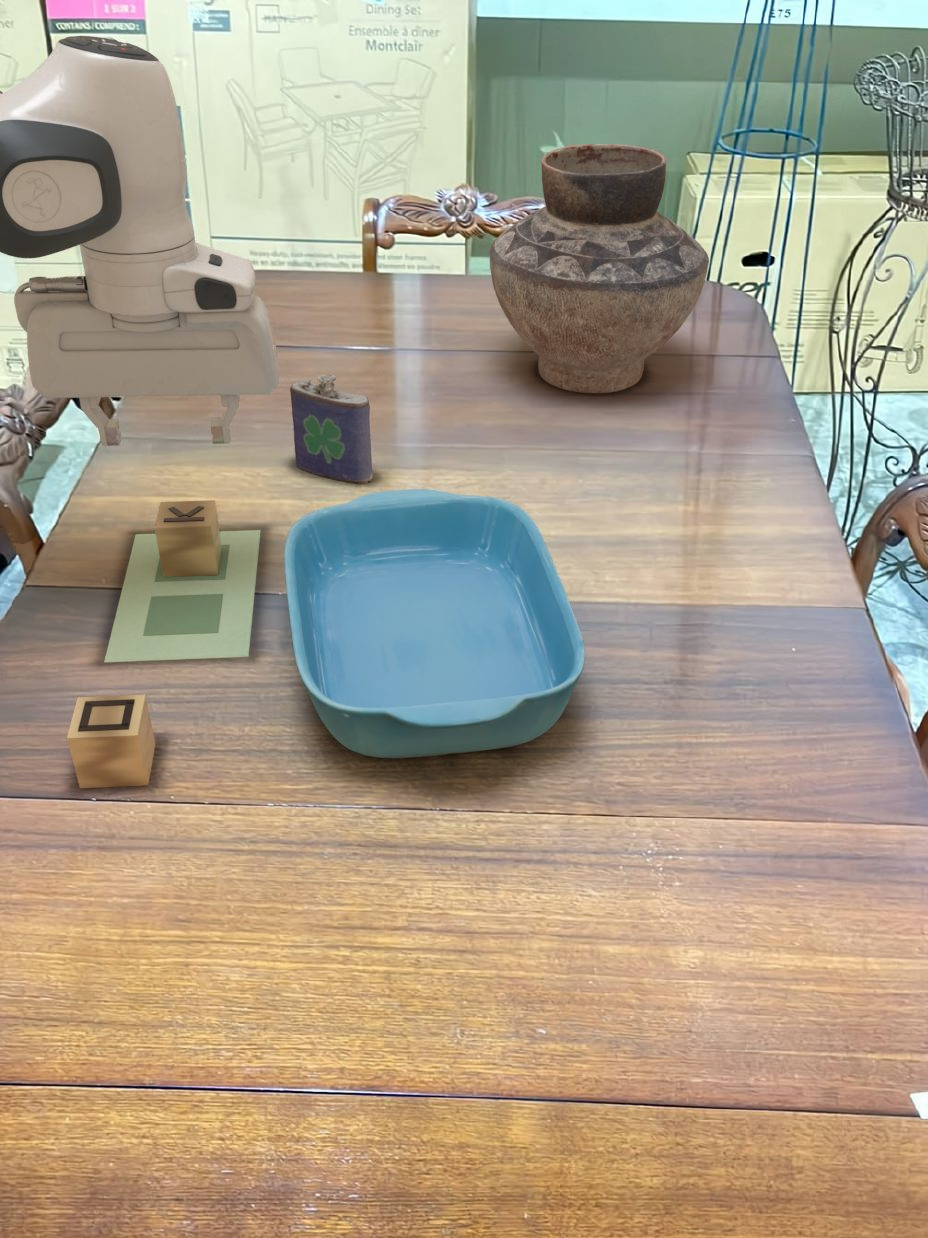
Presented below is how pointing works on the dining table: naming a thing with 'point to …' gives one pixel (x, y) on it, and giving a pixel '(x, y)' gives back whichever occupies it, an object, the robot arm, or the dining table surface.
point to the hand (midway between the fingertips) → (167, 442)
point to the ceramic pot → (597, 268)
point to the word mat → (186, 605)
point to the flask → (331, 431)
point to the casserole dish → (429, 623)
